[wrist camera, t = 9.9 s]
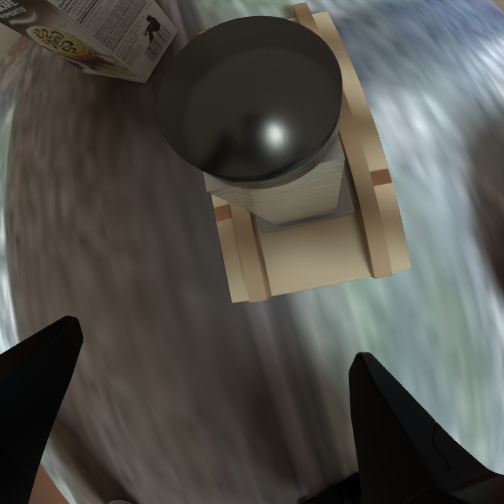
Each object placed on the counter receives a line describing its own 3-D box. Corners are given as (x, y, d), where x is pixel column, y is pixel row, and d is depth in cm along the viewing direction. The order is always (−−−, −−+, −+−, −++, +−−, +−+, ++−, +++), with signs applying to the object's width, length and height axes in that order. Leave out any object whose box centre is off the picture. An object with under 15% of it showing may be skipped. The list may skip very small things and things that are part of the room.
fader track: (405, 266, 18) (417, 269, 15) (239, 299, 21) (224, 307, 18) (328, 23, 19) (326, -1, 16) (195, 58, 22) (179, 39, 19)
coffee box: (84, 75, 25) (-33, 8, 9) (116, 25, 24) (17, -55, 8) (146, 86, 23) (5, -16, 7) (182, 28, 22) (78, -91, 6)
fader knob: (352, 216, 17) (404, 142, 5) (265, 235, 19) (138, 207, 6) (337, 154, 18) (339, -5, 5) (252, 173, 19) (128, 62, 6)
